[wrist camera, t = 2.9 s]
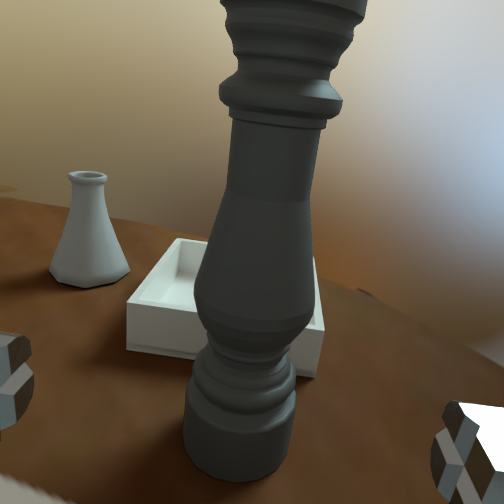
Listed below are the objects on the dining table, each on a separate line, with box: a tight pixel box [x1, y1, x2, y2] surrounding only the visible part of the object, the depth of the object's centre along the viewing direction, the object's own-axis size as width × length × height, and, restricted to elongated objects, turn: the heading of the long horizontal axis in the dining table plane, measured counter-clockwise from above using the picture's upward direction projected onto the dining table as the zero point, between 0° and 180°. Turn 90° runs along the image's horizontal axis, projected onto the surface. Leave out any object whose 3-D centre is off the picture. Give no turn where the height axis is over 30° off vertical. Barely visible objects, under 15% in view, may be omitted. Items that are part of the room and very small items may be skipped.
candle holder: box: [183, 0, 367, 483], centre depth 20 cm, size 6×6×25 cm
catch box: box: [126, 238, 325, 378], centre depth 36 cm, size 14×14×4 cm
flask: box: [49, 171, 130, 288], centre depth 40 cm, size 7×7×10 cm
